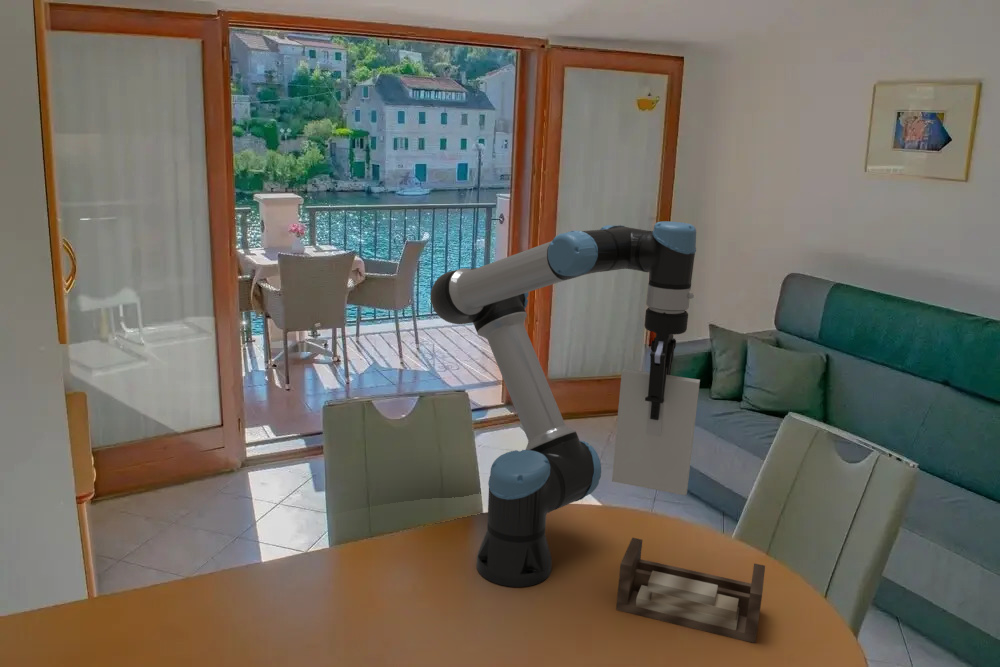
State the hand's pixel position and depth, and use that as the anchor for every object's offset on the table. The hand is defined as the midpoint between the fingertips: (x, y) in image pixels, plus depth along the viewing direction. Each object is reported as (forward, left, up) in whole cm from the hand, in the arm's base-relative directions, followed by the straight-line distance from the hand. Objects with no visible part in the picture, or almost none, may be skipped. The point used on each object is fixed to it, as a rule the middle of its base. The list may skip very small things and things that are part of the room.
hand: (654, 432), depth 153 cm
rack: (+10, -4, -32) cm, 34 cm away
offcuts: (+10, -7, -31) cm, 33 cm away
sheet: (0, 0, -11) cm, 11 cm away
